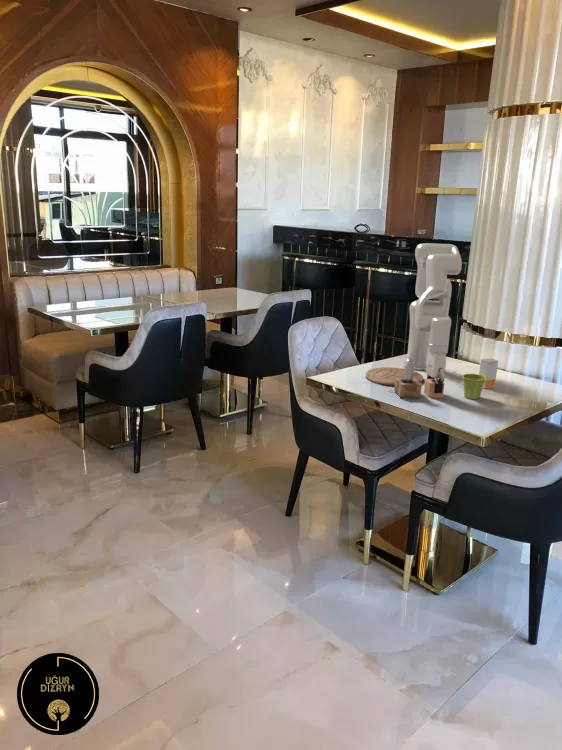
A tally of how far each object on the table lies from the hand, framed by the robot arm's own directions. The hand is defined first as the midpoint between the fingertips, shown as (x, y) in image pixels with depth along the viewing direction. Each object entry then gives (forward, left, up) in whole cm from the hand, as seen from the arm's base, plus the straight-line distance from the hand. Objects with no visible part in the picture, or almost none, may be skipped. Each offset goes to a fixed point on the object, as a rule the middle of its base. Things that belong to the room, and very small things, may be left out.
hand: (434, 389), depth 251 cm
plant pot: (+3, +15, -3) cm, 15 cm away
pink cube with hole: (0, 0, -3) cm, 3 cm away
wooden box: (0, -11, -3) cm, 11 cm away
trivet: (-23, -10, -3) cm, 26 cm away
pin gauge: (0, -11, -2) cm, 11 cm away
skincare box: (-11, +27, -3) cm, 29 cm away
